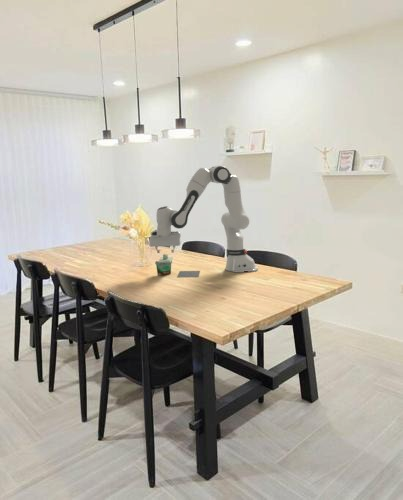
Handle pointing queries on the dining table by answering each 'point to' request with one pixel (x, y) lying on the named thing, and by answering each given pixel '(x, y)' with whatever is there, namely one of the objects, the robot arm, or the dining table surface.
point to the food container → (163, 268)
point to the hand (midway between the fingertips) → (165, 252)
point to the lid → (165, 259)
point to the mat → (188, 274)
